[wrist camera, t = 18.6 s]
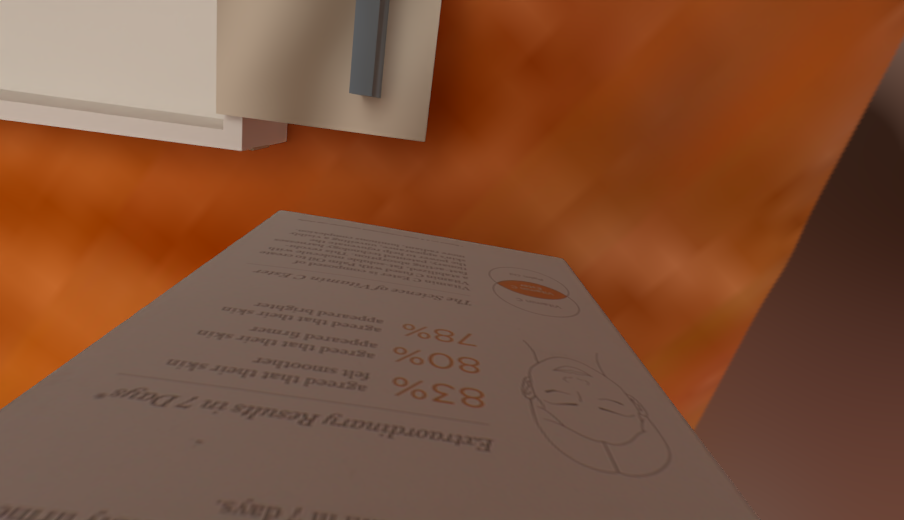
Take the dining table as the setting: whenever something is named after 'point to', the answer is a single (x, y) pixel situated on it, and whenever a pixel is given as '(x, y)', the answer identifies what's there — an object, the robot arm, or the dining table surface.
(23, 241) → the dining table surface
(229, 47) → the lid panel
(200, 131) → the carton
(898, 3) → the dining table surface
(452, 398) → the small box
